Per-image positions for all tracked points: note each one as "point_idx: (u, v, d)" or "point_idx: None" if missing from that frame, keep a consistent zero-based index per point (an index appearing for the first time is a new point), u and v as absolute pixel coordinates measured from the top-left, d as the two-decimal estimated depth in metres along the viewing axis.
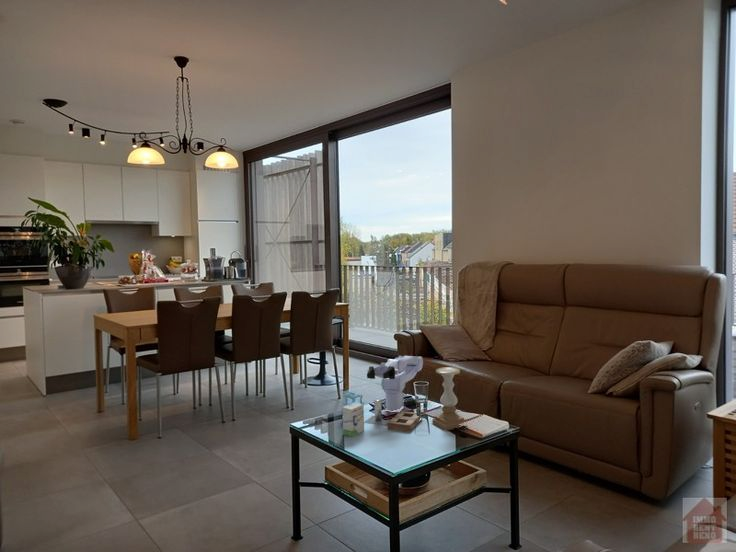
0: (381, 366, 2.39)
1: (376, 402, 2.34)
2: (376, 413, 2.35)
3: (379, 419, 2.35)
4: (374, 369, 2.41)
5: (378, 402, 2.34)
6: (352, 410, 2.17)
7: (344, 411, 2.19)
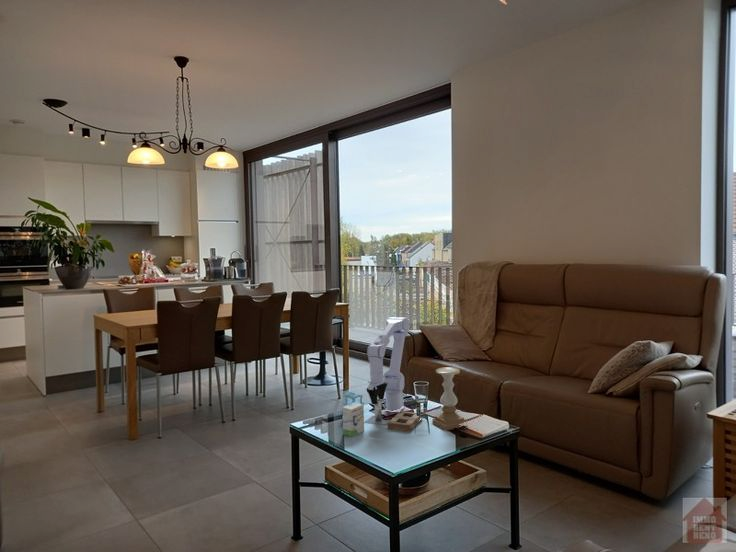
0: None
1: None
2: (376, 413, 2.35)
3: (379, 419, 2.35)
4: None
5: (378, 402, 2.34)
6: (352, 410, 2.17)
7: (344, 411, 2.19)
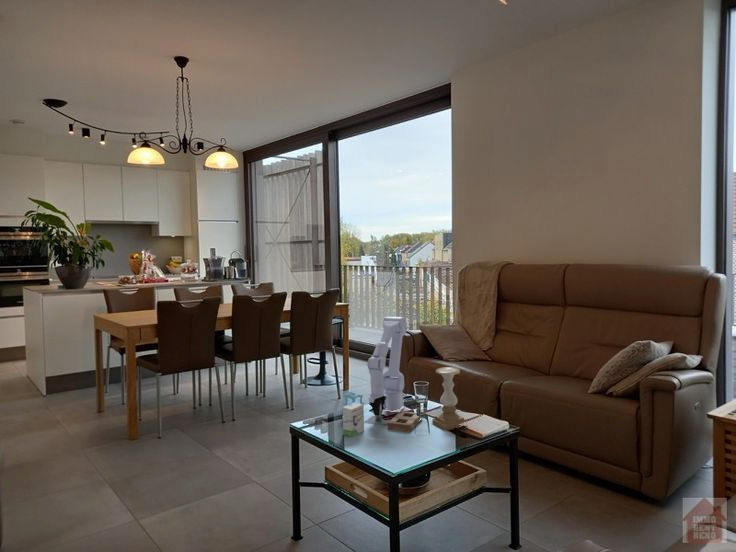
0: None
1: None
2: None
3: (379, 419, 2.35)
4: None
5: None
6: (352, 410, 2.17)
7: (344, 411, 2.19)
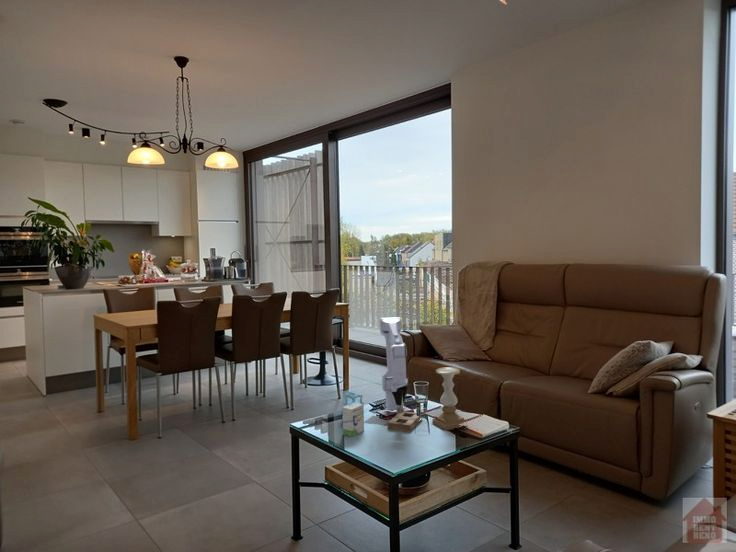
0: None
1: None
2: None
3: (400, 410, 2.25)
4: None
5: None
6: (352, 410, 2.17)
7: (344, 411, 2.19)
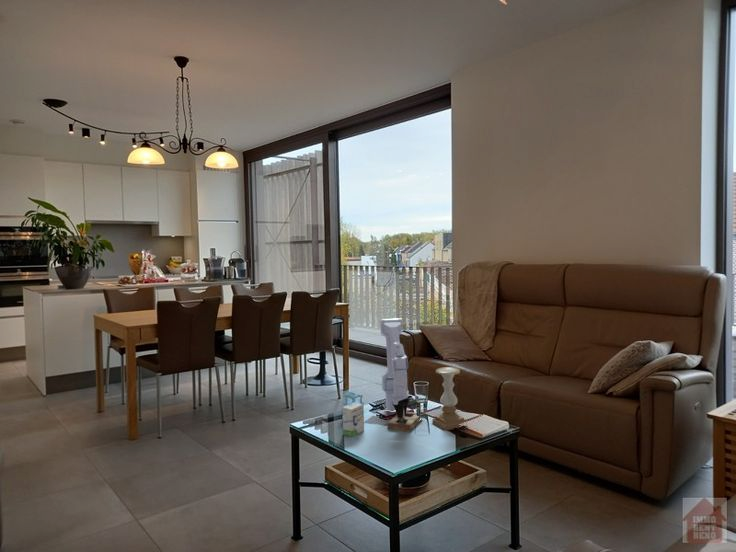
0: None
1: None
2: None
3: (402, 422, 2.25)
4: None
5: None
6: (352, 410, 2.17)
7: (344, 411, 2.19)
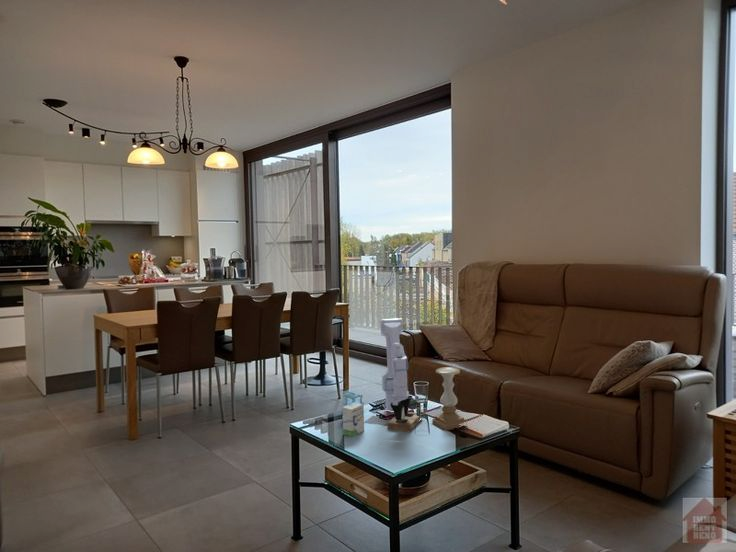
0: None
1: None
2: (399, 420, 2.25)
3: None
4: None
5: None
6: (352, 410, 2.17)
7: (344, 411, 2.19)
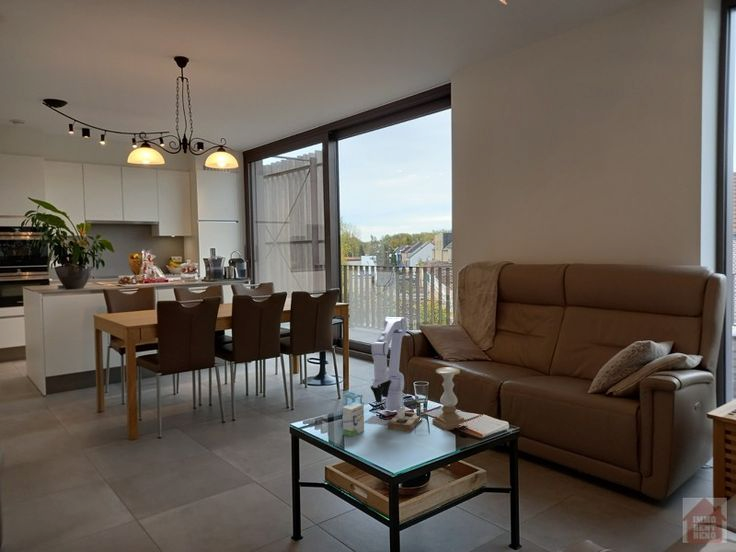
0: None
1: (399, 409, 2.25)
2: (399, 420, 2.25)
3: None
4: None
5: (401, 409, 2.24)
6: (352, 410, 2.17)
7: (344, 411, 2.19)
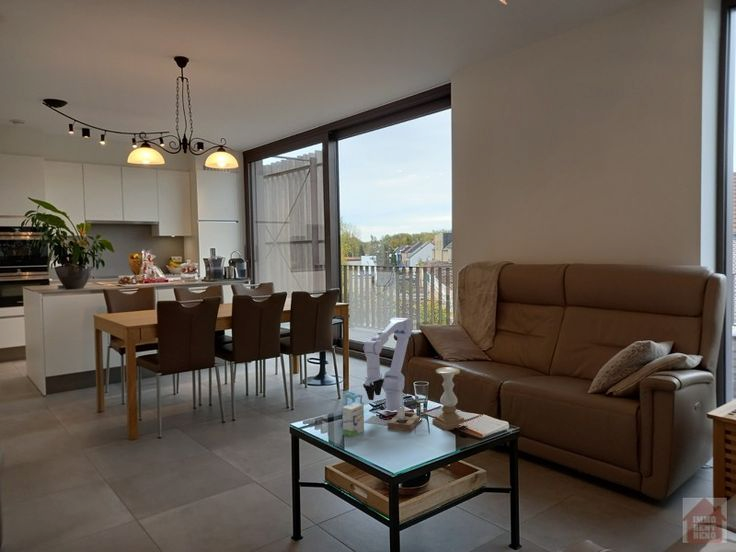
0: None
1: (399, 409, 2.25)
2: (399, 420, 2.25)
3: None
4: None
5: (401, 409, 2.24)
6: (352, 410, 2.17)
7: (344, 411, 2.19)
